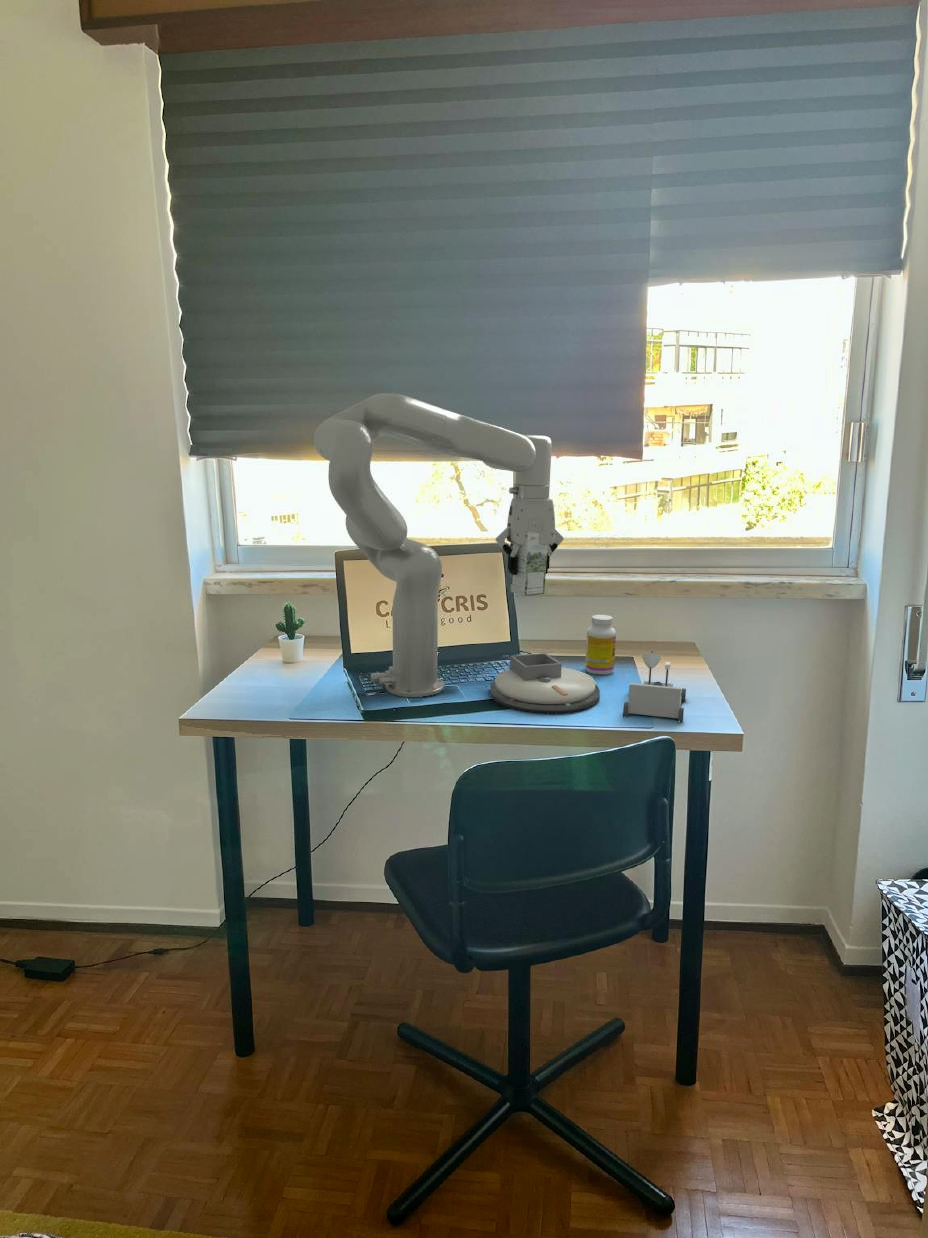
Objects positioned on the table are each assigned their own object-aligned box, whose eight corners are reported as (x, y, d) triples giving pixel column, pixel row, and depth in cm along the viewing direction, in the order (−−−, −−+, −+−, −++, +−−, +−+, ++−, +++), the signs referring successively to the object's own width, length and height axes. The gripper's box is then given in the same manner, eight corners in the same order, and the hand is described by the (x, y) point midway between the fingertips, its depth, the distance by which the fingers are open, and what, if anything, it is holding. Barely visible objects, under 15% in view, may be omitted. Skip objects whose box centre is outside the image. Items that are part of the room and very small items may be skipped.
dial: (612, 698, 185) (614, 677, 183) (517, 708, 178) (518, 686, 177) (568, 668, 204) (569, 649, 203) (481, 676, 197) (481, 657, 196)
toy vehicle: (633, 647, 194) (689, 652, 191) (630, 691, 196) (685, 696, 193) (625, 671, 177) (686, 677, 174) (622, 719, 179) (682, 725, 177)
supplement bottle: (615, 676, 205) (619, 621, 202) (586, 675, 205) (589, 620, 202) (611, 667, 212) (614, 613, 208) (583, 666, 212) (585, 613, 208)
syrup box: (529, 589, 207) (532, 526, 204) (545, 594, 202) (548, 530, 199) (509, 591, 204) (511, 527, 200) (525, 597, 199) (528, 531, 196)
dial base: (514, 719, 177) (514, 710, 177) (475, 683, 198) (475, 675, 198) (619, 707, 184) (619, 699, 184) (570, 674, 206) (571, 666, 205)
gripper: (501, 494, 192) (497, 577, 196) (575, 494, 197) (570, 575, 201) (488, 491, 198) (485, 571, 203) (561, 490, 204) (556, 568, 208)
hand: (528, 572), depth 202 cm, fingers closed on syrup box, 6 cm apart
